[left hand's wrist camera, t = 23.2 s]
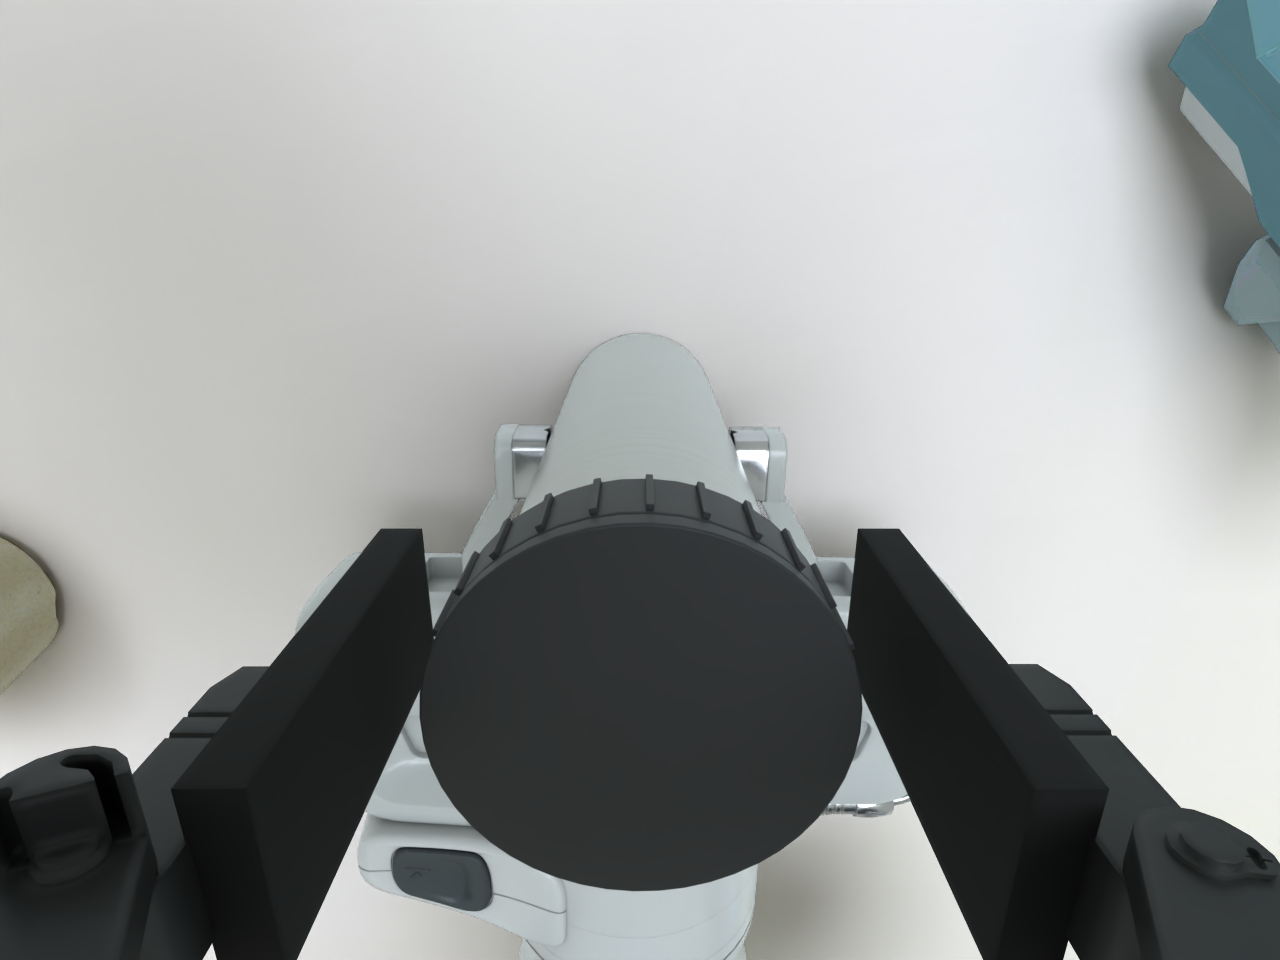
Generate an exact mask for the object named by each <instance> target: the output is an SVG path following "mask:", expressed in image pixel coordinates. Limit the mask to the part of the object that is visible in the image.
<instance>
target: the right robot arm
mask: <svg viewBox="0 0 1280 960" xmlns="http://www.w3.org/2000/svg"><path fill="white" fill-rule="evenodd" d="M552 431H553V430H552V426H551V425H522V424H502V425H501V427H500V428H499V430H498V432H497V433H496V436H495V444H494V462H495V479H496V491H495V492H494V494H493V496H492V498H491V500H490V501H489V503H488V505H487V507H486V509H485V510H484V512H483V514H482V516H481V518H480V519H479V521H478V523H477V525H476V527H475V529H474V531H473V532H472V534H471V536H470V538H469V540H468V542H467V544H466V546H465V548H464V550H463V552H462V553H425V561H426V570H427V579H428V588H429V597H430V607H431V616H432V625H433V628H434V626H435V624H436V622H437V620H438V618H439V616H440V614H441V612H442V610H443V608H444V606H445V604H446V602H447V600H448V598H449V596H450V594H451V591H452V590H453V589H454V590H455V588H456V586H457V584H458V582H459V580H460V578H461V576H462V573H463V571H464V569H465V567H466V565H467V563H468V561H469V559H470V557H471V555H472V554H473V552H474V551H476V552H478V553H480V552H481V551H482V549H483V548H484V547H485V546H486V545H487V544H488V543H489V542H490V541H491V539H492V538H493V537H494V536H495V535H496V534H497V533H498V532H499V530H500V528H501V526H502V524H503V521H504V520H506V519H507V518H509V516H510V515H511V513H512V511H513V509H514V508H515V506H516V504H517V502H518V500H519V498H526V497H527V494H528V492H529V489H530V487H531V484H532V482H533V479H534V477H535V474H536V471H537V469H538V466H539V464H540V461H541V459H542V456H543V454H544V451H545V449H546V446H547V444H548V441H549V439H550V436H551V433H552ZM729 434H730V436H731V439H732V441H733V444H734V446H735V449H736V451H737V454H738V456H739V459H740V461H741V464H742V466H743V469H744V471H745V474H746V476H747V479H748V481H749V484H750V486H751V489H752V491H753V494H754V496H755V499H756V501H760V502H761V504H762V506H763V508H764V510H765V512H766V514H767V516H768V517H769V519H770V521H771V522H772V523H773V524H774V525H775V526H777V527H778V528H779V529H780V530H781V531H782V530H783V529H784V528H786V529H787V530H789V531H790V533H791V536H792V538H793V540H794V542H795V544H796V546H797V548H798V549H799V550H800V552H801V553H802V554H803V555H804V556H805V558H806V559H807V561H808V562H809V564H810V565H812V564H814V563H816V565H817V566H818V568H819V570H820V572H821V574H822V576H823V578H824V580H825V582H826V584H827V586H828V588H829V590H830V592H831V594H832V596H833V598H834V600H835V602H836V604H837V607H836V609H837V611H838V613H839V615H840V617H841V619H842V621H843V623H844V625H845V627H846V629H847V625H848V616H849V607H850V597H851V588H852V579H853V570H854V561H855V558H836V557H816V555H815V553H814V551H813V549H812V547H811V545H810V543H809V541H808V539H807V537H806V535H805V533H804V531H803V529H802V527H801V525H800V524H799V522H798V520H797V518H796V516H795V514H794V512H793V510H792V508H791V506H790V505H789V503H788V501H787V499H786V497H785V495H784V485H785V473H786V460H787V445H786V438H785V436H784V434H783V433H782V431H781V430H780V428H779V427H730V428H729ZM361 553H362V552H360V553H355V554H352V555H350V556H348V557H347V558H346V559H345V560H343V561H342V562H341V563H340V564H339V566H338V567H337V568H336V569H335V570H334V571H333V572H332V573H331V574H330V575H329V576H328V577H327V578H326V579H325V580H324V581H323V582H322V583H321V584H320V585H319V587H318V588H317V589H316V591H315V592H314V593H313V595H312V596H311V597H310V599H309V600H308V602H307V603H306V605H305V606H304V608H303V610H302V611H301V613H300V616H299V618H298V621H297V625H296V631H295V635H296V633H297V632H298V631H299V630H300V628H301V627H302V626H303V625H304V623H305V622H306V621H307V620H308V618H309V617H310V616H311V615H312V613H313V612H314V611H315V610H316V609H317V607H318V606H319V605H320V604H321V602H322V601H323V600H324V599H325V597H326V596H327V595H328V594H329V592H330V591H331V590H332V589H333V588H334V586H335V585H336V584H337V583H338V581H339V580H340V579H341V578H342V576H343V575H344V574H345V573H346V571H347V570H348V569H349V568H350V567H351V565H352V564H353V563H354V562H355V560H356V559H357V558H358V557H359V555H360V554H361ZM929 567H930V566H929ZM930 568H931V567H930ZM931 569H932V568H931ZM932 570H933V569H932ZM933 571H934V570H933ZM934 573H935V574H936V575H937V576H938V578H939V579H940V580H941V581H942V583H943V584H944V585H945V586H946V588H947V589H948V590H949V591H950V592H951V594H952V595H953V596H954V597H955V599H956V600H957V601H958V602H959V604H960V605H961V606H962V607H963V609H964V610H965V611H966V609H965V607H964V606H963V604H962V603H961V602H960V600H959V599H958V597H957V596H956V594H955V593H954V592H953V591H952V589H951V588H950V587H949V586H948V585H947V584H946V583H945V582H944V581H943V580H942V579H941V578H940V576H939V575H938V574H937V573H936V572H935V571H934ZM966 612H967V611H966ZM967 613H968V612H967ZM968 615H969V614H968ZM969 616H970V615H969ZM434 639H435V636H434ZM862 707H863V709H862V720H861V731H860V736H859V740H858V744H857V748H856V752H855V756H854V758H853V761H852V763H851V766H850V768H849V770H848V773H847V775H846V778H845V780H844V781H843V783H842V785H841V786H840V788H839V790H838V791H837V793H836V795H835V796H834V798H833V800H832V801H831V802H830V803H829V805H828V806H827V807H826V808H825V810H824V811H823V812H822V813H821V815H820V816H822V815H825V814H826V815H829V814H832V813H833V814H840V813H841V814H852V815H853V816H856V817H864V818H868V817H881V816H886V815H889V814H891V813H892V812H893V808H894V805H898V804H903V803H906V802H909V801H910V798H909V796H908V794H907V792H906V790H905V787H904V785H903V783H902V781H901V779H900V776H899V774H898V772H897V770H896V768H895V766H894V763H893V761H892V759H891V757H890V755H889V752H888V750H887V748H886V746H885V744H884V741H883V739H882V737H881V735H880V733H879V730H878V728H877V726H876V724H875V722H874V720H873V717H872V715H871V713H870V711H869V709H868V706H867V704H866V702H865V700H864V698H863V695H862ZM419 715H420V691H419V693H418V695H417V698H416V700H415V702H414V704H413V706H412V709H411V711H410V713H409V715H408V717H407V720H406V722H405V724H404V726H403V728H402V730H401V733H400V735H399V737H398V739H397V741H396V744H395V746H394V748H393V750H392V752H391V755H390V757H389V759H388V761H387V763H386V766H385V768H384V770H383V772H382V774H381V776H380V779H379V781H378V783H377V785H376V787H375V790H374V792H373V794H372V796H371V798H370V801H369V803H368V805H367V807H366V809H365V812H367V813H368V814H367V816H366V820H365V823H364V827H363V830H362V834H361V837H360V841H359V845H358V850H357V858H358V866H359V870H360V873H361V875H362V877H363V879H364V880H365V881H366V882H367V883H368V884H369V885H371V886H372V887H374V888H376V889H378V890H381V891H384V892H387V893H390V894H394V895H398V896H402V897H406V898H410V899H414V900H418V901H422V902H426V903H430V904H433V905H437V906H441V907H444V908H447V909H451V910H454V911H457V912H460V913H463V914H466V915H469V916H472V917H475V918H478V919H481V920H483V921H486V922H488V923H491V924H493V925H496V926H498V927H500V928H503V929H505V930H507V931H509V932H511V933H514V934H516V935H518V936H520V937H522V938H523V939H522V943H521V947H520V952H519V959H518V960H747V958H746V952H745V947H744V941H745V939H746V936H747V934H748V931H749V928H750V925H751V921H752V917H753V913H754V906H755V898H756V884H757V873H758V864H756V865H754V866H752V867H749V868H747V869H745V870H743V871H741V872H738V873H736V874H734V875H731V876H728V877H725V878H722V879H718V880H715V881H712V882H709V883H704V884H700V885H695V886H691V887H686V888H679V889H671V890H662V891H622V890H609V889H602V888H597V887H591V886H586V885H580V884H577V883H573V882H570V881H566V880H563V879H559V878H556V877H554V876H551V875H549V874H546V873H544V872H541V871H539V870H536V869H534V868H532V867H530V866H528V865H526V864H524V863H522V862H520V861H518V860H517V859H515V858H513V857H511V856H509V855H508V854H506V853H505V852H503V851H502V850H501V849H499V848H498V847H496V846H495V845H493V844H492V843H490V842H489V841H488V840H487V839H486V838H484V837H483V836H482V835H481V834H480V833H479V832H478V831H477V830H475V829H474V828H473V827H472V826H471V825H470V824H469V823H468V822H467V821H466V819H465V818H464V817H463V816H462V815H461V814H460V813H459V812H458V810H457V809H456V808H455V807H454V806H453V804H452V803H451V801H450V800H449V798H448V797H447V795H446V794H445V792H444V791H443V789H442V788H441V786H440V784H439V782H438V780H437V778H436V776H435V774H434V771H433V769H432V767H431V765H430V762H429V759H428V756H427V752H426V749H425V746H424V743H423V737H422V731H421V724H420V718H419Z"/></svg>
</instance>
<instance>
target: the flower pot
mask: <svg viewBox="0 0 1280 960" xmlns="http://www.w3.org/2000/svg"><path fill="white" fill-rule="evenodd" d="M55 598H56V592H55V589H54V587H53V585H52V583H51V581H50V580H49V579H48V577H47V576H46V574H45V573H44V572H43V570H42V569H41V568H40V566H39V565H38V564H37V563H36V562H35V561H34V560H33V559H31V558H30V557H29V556H28V555H27V554H26V553H25V552H23V551H22V550H20V549H19V548H18V547H16V546H15V545H13V544H12V543H10V542H8V541H6V540H4V539H2V538H0V694H1V693H2V692H3V691H4V690H5V689H6V688H7V687H8V686H9V685H10V684H11V683H12V682H13V681H14V680H15V679H16V678H17V677H18V676H19V675H20V674H21V673H22V672H23V671H24V670H25V669H26V668H27V667H28V666H29V665H30V664H31V663H32V662H33V661H34V660H35V659H36V658H37V657H38V656H39V655H40V654H41V653H42V652H43V651H44V650H45V649H46V648H47V647H48V646H49V645H50V643H51V642H52V640H53V638H54V637H55V635H56V632H57V630H58V627H59V622H58V620H57V618H56V607H55Z"/></svg>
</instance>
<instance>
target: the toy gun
mask: <svg viewBox="0 0 1280 960" xmlns="http://www.w3.org/2000/svg"><path fill="white" fill-rule="evenodd" d="M1168 66H1169V67H1170V68H1171V70H1172V71H1173V72H1174V73H1175V74H1176V75H1177V77H1178V78H1179V79H1180V80H1181V81H1182V82H1183V84H1184V85H1185V86H1186V87H1185V91H1184V94H1183V98H1182V102H1181V105H1180V110H1181V112H1182V113H1183V115H1184V116H1185V117H1186V118H1187V119H1188V121H1189V122H1190V123H1191V124H1192V125H1193V127H1194V128H1195V129H1196V130H1197V131H1198V132H1199V134H1200V135H1201V136H1202V137H1203V138H1204V140H1205V141H1206V142H1207V143H1208V144H1209V146H1210V147H1211V148H1212V149H1213V150H1214V151H1215V153H1216V154H1217V155H1218V156H1219V157H1220V159H1221V160H1222V161H1223V162H1224V163H1225V165H1226V166H1227V167H1228V168H1229V169H1230V170H1231V172H1232V173H1233V174H1234V175H1235V176H1236V178H1237V179H1238V180H1239V181H1240V182H1241V184H1242V185H1243V186H1244V187H1245V188H1246V189H1247V191H1248V192H1249V193H1250V194H1251V195H1252V197H1253V201H1254V204H1255V208H1256V212H1257V216H1258V220H1259V224H1260V225H1261V226H1262V227H1263V229H1264V230H1265V231H1266V232H1267V233H1268V235H1266V236H1264V237H1262V238H1260V239H1258V240H1256V241H1255V243H1254V244H1253V245H1252V247H1251V248H1250V249H1249V251H1248V252H1247V253H1246V255H1245V256H1244V257H1243V259H1242V260H1241V261H1240V263H1239V265H1238V267H1237V270H1236V273H1235V276H1234V279H1233V282H1232V284H1231V287H1230V290H1229V293H1228V296H1227V299H1226V301H1225V304H1224V309H1225V310H1226V311H1227V312H1228V314H1229V315H1230V316H1231V317H1232V319H1233V320H1234V321H1235V322H1236V324H1237V325H1247V324H1257V323H1258V324H1259V325H1260V326H1261V328H1262V329H1263V331H1264V332H1265V333H1266V335H1267V336H1268V337H1269V339H1270V340H1271V341H1272V343H1273V344H1274V345H1275V347H1276V349H1277V351H1278V353H1280V0H1218V1H1217V3H1216V5H1215V6H1214V8H1213V10H1212V11H1211V13H1210V15H1209V16H1208V18H1207V20H1206V21H1205V23H1204V25H1202V26H1201V27H1199V28H1197V29H1195V30H1194V31H1192V32H1190V33H1188V34H1187V35H1185V37H1184V39H1183V41H1182V42H1181V44H1180V46H1179V48H1178V49H1177V51H1176V53H1175V55H1174V57H1173V58H1172V60H1171V62H1170V64H1169V65H1168Z"/></svg>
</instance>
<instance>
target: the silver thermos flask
mask: <svg viewBox="0 0 1280 960" xmlns="http://www.w3.org/2000/svg"><path fill="white" fill-rule="evenodd" d="M646 474H653V479H660V480H670V481H678V482H682V483H687V484H691V485H696V484H697V482H698V481H699V482H702V483H704V484H705V488H707V489H710V490H712V491H715V492H718V493H721V494H723V495H726V496H729V497H731V498H733V499H734V500H736V501H738V502H740V503H742V504H743V502H744V501H745V500H747V501H749V502H751V504H752V507H753V509H754V510H755V511H756V512H758V513H759V514H760V515H762V514H761V512H760V509H759V506H758V504H757V501H756V499H755V496H754V494H753V491H752V489H751V486H750V484H749V481H748V479H747V476H746V474H745V471H744V469H743V466H742V464H741V461H740V459H739V456H738V454H737V451H736V449H735V446H734V444H733V441H732V439H731V436H730V434H729V431H728V429H727V426H726V424H725V421H724V418H723V416H722V413H721V411H720V408H719V406H718V403H717V401H716V398H715V396H714V393H713V391H712V388H711V386H710V383H709V381H708V378H707V376H706V374H705V372H704V370H703V368H702V367H701V365H700V364H699V362H698V361H697V360H696V359H695V357H694V356H693V355H692V354H691V353H690V352H689V351H687V350H686V349H685V348H684V347H682V346H681V345H679V344H678V343H676V342H674V341H672V340H670V339H668V338H665V337H662V336H658V335H653V334H645V333H636V334H627V335H623V336H619V337H616V338H613V339H611V340H609V341H607V342H605V343H603V344H601V345H600V346H599V347H597V348H596V349H594V350H593V351H592V352H591V353H590V354H589V355H588V356H587V357H586V358H585V359H584V361H583V362H582V363H581V365H580V366H579V368H578V369H577V371H576V373H575V376H574V378H573V380H572V383H571V385H570V388H569V390H568V393H567V395H566V398H565V400H564V403H563V406H562V408H561V411H560V413H559V416H558V418H557V421H556V423H555V426H554V428H553V431H552V433H551V436H550V439H549V441H548V444H547V446H546V449H545V451H544V454H543V456H542V459H541V461H540V464H539V466H538V469H537V471H536V474H535V477H534V479H533V482H532V484H531V487H530V489H529V492H528V494H527V497H526V499H525V502H524V504H523V507H522V510H521V512H520V514H522V513H524V512H525V511H527V510H529V509H530V508H532V507H534V506H536V505H537V504H539V503H541V502H542V501H543V500H544V497H545V495H547V494H549V493H552V495H553V497H554V496H556V495H559V494H561V493H563V492H566V491H568V490H572V489H575V488H579V487H582V486H586V485H590V484H593V480H594V479H596V478H601V481H602V482H606V481H612V480H619V479H645V478H646Z"/></svg>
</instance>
